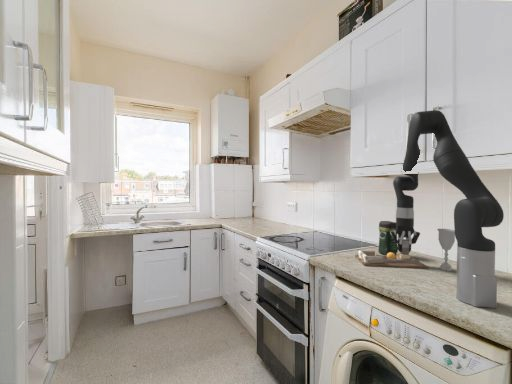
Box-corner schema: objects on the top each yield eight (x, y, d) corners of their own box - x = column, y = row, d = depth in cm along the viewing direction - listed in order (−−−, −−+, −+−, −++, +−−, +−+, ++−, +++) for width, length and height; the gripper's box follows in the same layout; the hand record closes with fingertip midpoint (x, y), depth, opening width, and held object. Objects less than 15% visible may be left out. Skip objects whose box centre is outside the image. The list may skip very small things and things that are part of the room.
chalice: (443, 266, 119) (443, 228, 118) (459, 270, 112) (460, 230, 112) (433, 267, 116) (433, 229, 116) (449, 272, 109) (449, 231, 109)
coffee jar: (400, 256, 136) (401, 222, 136) (388, 256, 134) (388, 222, 134) (387, 251, 145) (388, 220, 145) (375, 252, 144) (376, 220, 144)
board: (428, 268, 114) (428, 260, 114) (364, 265, 117) (364, 257, 117) (411, 259, 130) (411, 251, 130) (355, 256, 133) (355, 249, 133)
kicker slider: (409, 261, 120) (410, 240, 120) (401, 261, 121) (401, 240, 120) (404, 258, 125) (405, 238, 125) (396, 258, 126) (396, 238, 125)
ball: (397, 261, 121) (397, 253, 121) (388, 261, 122) (388, 253, 122) (393, 259, 125) (393, 251, 125) (385, 259, 126) (385, 251, 126)
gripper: (392, 217, 120) (392, 253, 120) (424, 218, 118) (423, 254, 118) (386, 215, 127) (386, 249, 127) (416, 216, 125) (415, 250, 126)
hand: (404, 251), depth 123 cm, fingers closed on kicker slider, 3 cm apart
